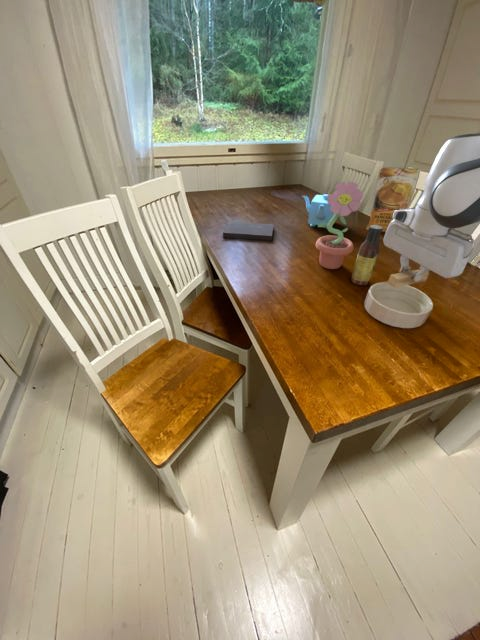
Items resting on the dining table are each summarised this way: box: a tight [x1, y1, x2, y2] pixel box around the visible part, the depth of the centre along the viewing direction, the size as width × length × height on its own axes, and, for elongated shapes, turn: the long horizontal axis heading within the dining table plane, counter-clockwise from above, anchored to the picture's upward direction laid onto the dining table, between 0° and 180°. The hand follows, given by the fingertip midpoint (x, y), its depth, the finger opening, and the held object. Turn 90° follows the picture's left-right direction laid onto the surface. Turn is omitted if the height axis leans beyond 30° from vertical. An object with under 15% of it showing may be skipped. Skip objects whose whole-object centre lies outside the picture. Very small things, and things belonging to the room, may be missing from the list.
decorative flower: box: [315, 181, 363, 270], centre depth 99 cm, size 15×14×30 cm
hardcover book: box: [222, 221, 275, 241], centre depth 133 cm, size 16×23×2 cm
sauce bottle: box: [351, 225, 383, 286], centre depth 92 cm, size 7×6×20 cm
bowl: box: [363, 281, 434, 329], centre depth 83 cm, size 17×17×6 cm
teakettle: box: [301, 193, 334, 229], centre depth 140 cm, size 19×19×15 cm
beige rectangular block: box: [387, 268, 430, 287], centre depth 69 cm, size 10×2×2 cm, turn 108°
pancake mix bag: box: [365, 167, 421, 233], centre depth 130 cm, size 7×19×28 cm, turn 85°
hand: (409, 276), depth 69 cm, fingers closed on beige rectangular block, 2 cm apart
